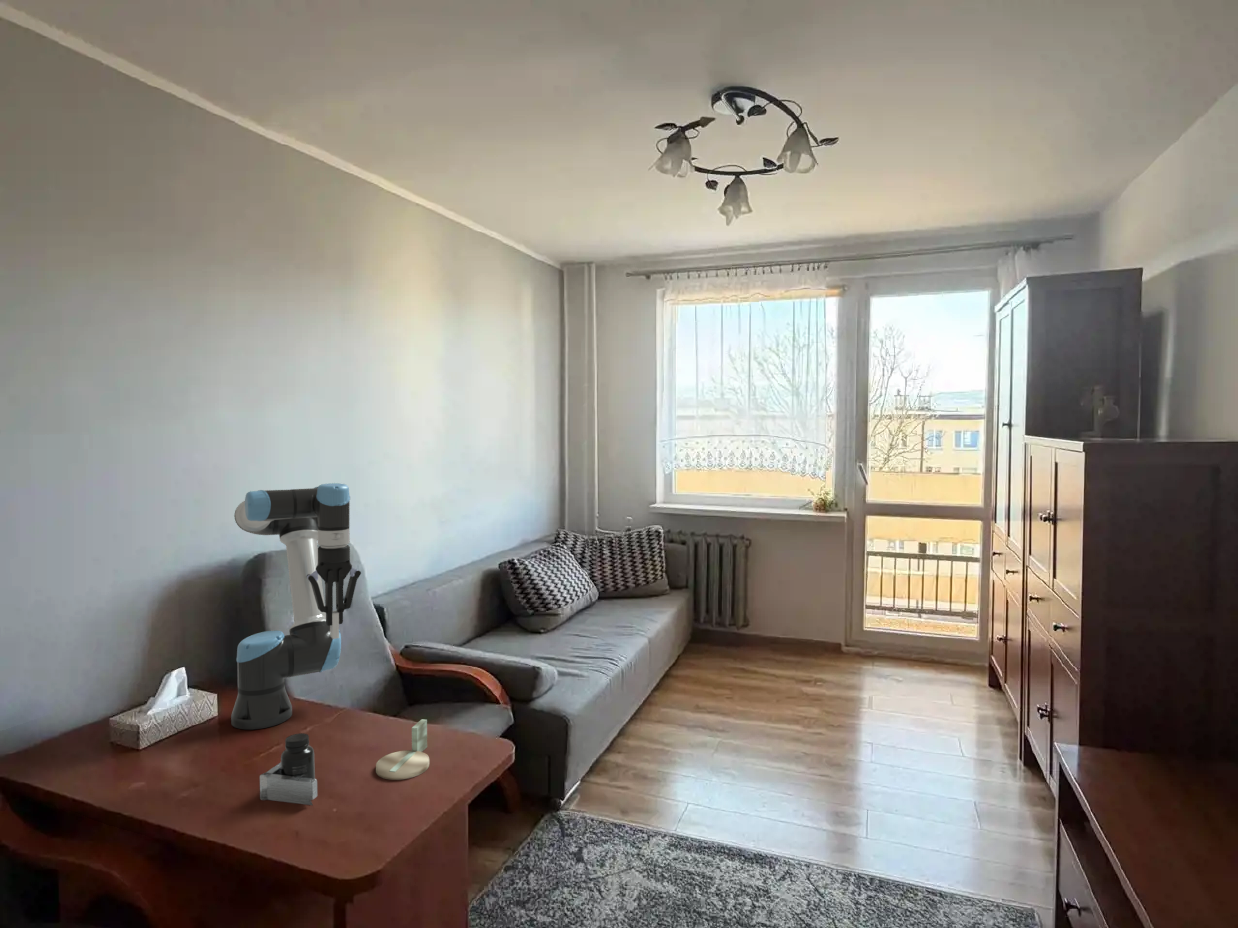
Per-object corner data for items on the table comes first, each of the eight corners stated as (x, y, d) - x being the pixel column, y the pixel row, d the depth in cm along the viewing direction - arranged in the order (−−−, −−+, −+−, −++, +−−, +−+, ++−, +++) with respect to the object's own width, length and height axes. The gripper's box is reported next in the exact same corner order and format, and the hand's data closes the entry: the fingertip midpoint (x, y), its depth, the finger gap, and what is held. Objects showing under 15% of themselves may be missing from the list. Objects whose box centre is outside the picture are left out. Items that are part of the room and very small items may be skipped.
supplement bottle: (320, 782, 165) (319, 731, 164) (306, 797, 158) (305, 744, 157) (290, 781, 165) (289, 730, 164) (275, 797, 158) (274, 743, 157)
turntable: (402, 744, 181) (402, 717, 181) (446, 748, 179) (446, 721, 179) (365, 776, 165) (365, 746, 164) (414, 782, 162) (414, 751, 162)
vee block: (254, 781, 165) (254, 760, 165) (303, 769, 170) (302, 749, 170) (266, 817, 150) (265, 794, 149) (318, 803, 155) (318, 781, 155)
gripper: (309, 550, 174) (310, 645, 176) (364, 545, 182) (365, 636, 184) (302, 545, 180) (304, 637, 182) (356, 540, 188) (356, 628, 190)
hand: (334, 636), depth 183 cm, fingers closed
